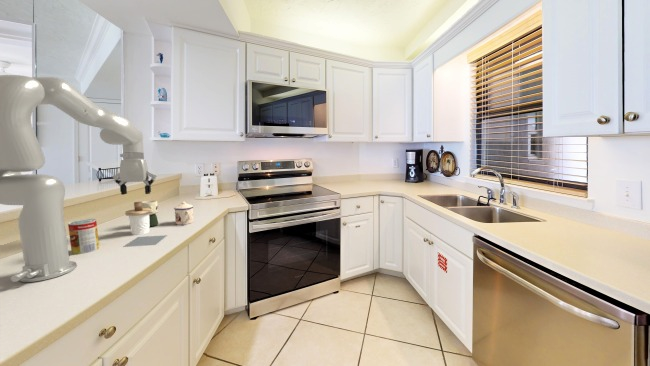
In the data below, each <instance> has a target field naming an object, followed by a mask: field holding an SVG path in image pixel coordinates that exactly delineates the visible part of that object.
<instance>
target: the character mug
mask: <svg viewBox="0 0 650 366" xmlns="http://www.w3.org/2000/svg"><path fill="white" fill-rule="evenodd" d="M141 202H142V208H149V209H152V212H151V213H149V219H150V221H149V222H150V227H153V226H158V225H159V221H158V217H157V216H158V215H157V213H159V204H158V200H144V201H141Z"/></svg>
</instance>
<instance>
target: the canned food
mask: <svg viewBox="0 0 650 366" xmlns="http://www.w3.org/2000/svg"><path fill="white" fill-rule="evenodd" d="M67 227H68V234H69V241H70V251H71V255H81V254H89V253H92V252H96V251H97V250H99V249H100V242H99V232H98V223H97V219H95V218H86V219H77V220H73V221H69V222H68V223H67Z"/></svg>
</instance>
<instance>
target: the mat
mask: <svg viewBox="0 0 650 366" xmlns="http://www.w3.org/2000/svg"><path fill="white" fill-rule="evenodd" d="M166 237H168V234H166V235H153V236H152V235H149V236H138V237H136V238H134V239H132V240H131V241H129V242H128V243H126V244H125V245H123V246H122V248H124V247H125V248H126V247H127V248H128V247H141V246H143V247H144V246H157V245H158V244H159V243H160V242H161V241H162V240H164V239H165V238H166Z"/></svg>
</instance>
